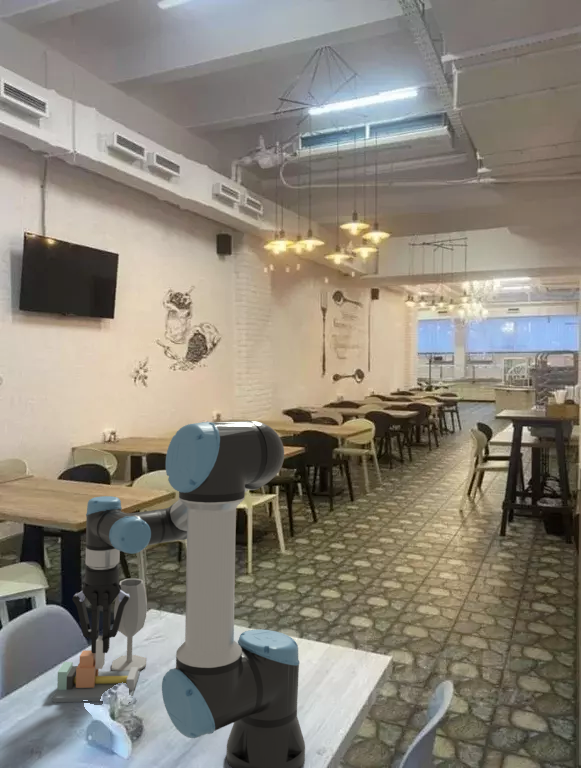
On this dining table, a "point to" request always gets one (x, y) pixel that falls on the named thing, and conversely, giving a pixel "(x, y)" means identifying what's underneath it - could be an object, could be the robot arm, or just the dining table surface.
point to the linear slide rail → (102, 684)
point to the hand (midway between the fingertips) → (99, 666)
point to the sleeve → (86, 670)
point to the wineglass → (131, 622)
